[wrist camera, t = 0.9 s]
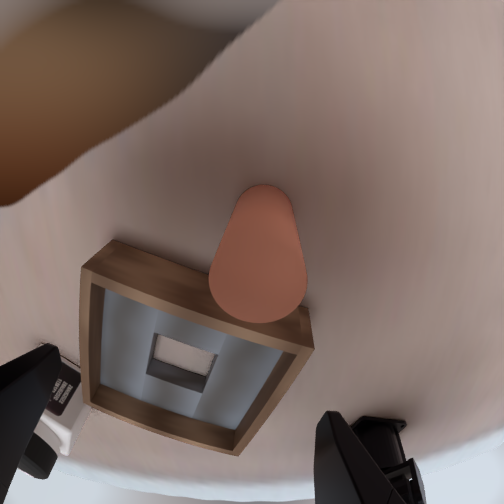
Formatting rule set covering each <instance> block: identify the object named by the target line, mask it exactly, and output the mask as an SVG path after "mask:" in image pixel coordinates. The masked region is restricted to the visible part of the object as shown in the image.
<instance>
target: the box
mask: <svg viewBox="0 0 504 504" xmlns="http://www.w3.org/2000/svg"><path fill="white" fill-rule="evenodd" d="M158 334H160V335H163V336H165V337H168V338H171V339H173V340H176V341H179V342H182V343H185V344H188V345H190V346H193V347H196V348H199V349H202V350H205V351H208V352H211V353H214V354H215V357H214V359H213V362H212V364H211V367H210V369H209V372H208V374H207V377H204V376H201V375H198V374H195V373H192V372H189V371H186V370H183V369H180V368H178V367H175V366H172V365H169V364H166V363H164V362H161V361H158V360H156V359H153V354H154V349H155V344H156V340H157V335H158ZM79 349H80V371H81V385H82V397H83V403H84V404H86V405H89V406H91V407H93V408H95V409H97V410H99V411H101V412H104V413H106V414H108V415H111V416H113V417H115V418H118V419H120V420H122V421H125V422H127V423H130V424H132V425H135V426H138V427H140V428H143V429H146V430H148V431H151V432H154V433H157V434H160V435H163V436H166V437H169V438H172V439H175V440H178V441H181V442H184V443H188V444H191V445H195V446H198V447H202V448H205V449H209V450H213V451H217V452H221V453H225V454H229V455H234V456H239V455H240V454H241V452H242V451H243V450H244V449H245V447H246V446H247V445H248V443H249V442H250V441H251V440H252V438H253V437H254V436H255V434H256V433H257V432H258V430H259V429H260V428H261V426H262V425H263V424H264V422H265V421H266V420H267V418H268V417H269V415H270V414H271V413H272V411H273V410H274V409H275V407H276V406H277V404H278V403H279V402H280V400H281V399H282V397H283V396H284V394H285V393H286V392H287V390H288V389H289V387H290V386H291V384H292V383H293V381H294V380H295V378H296V377H297V375H298V374H299V372H300V371H301V369H302V368H303V366H304V365H305V363H306V362H307V360H308V359H309V357H310V356H311V354H312V352H313V351H314V349H315V348H314V342H313V335H312V329H311V323H310V317H309V311H308V308H305V307H302V306H299V305H298V307H297V308H296V309H295V310H294V311H293V312H291V313H290V314H289V315H287V316H285V317H283V318H281V319H279V320H276V321H273V322H268V323H251V322H246V321H242V320H239V319H237V318H235V317H233V316H231V315H229V314H228V313H226V312H225V311H224V310H223V309H222V308H221V307H220V306H219V305H218V304H217V302H216V301H215V299H214V298H213V296H212V293H211V291H210V287H209V275H207V274H204V273H202V272H199V271H196V270H193V269H190V268H188V267H185V266H182V265H179V264H176V263H174V262H171V261H168V260H166V259H163V258H160V257H157V256H155V255H152V254H149V253H147V252H144V251H141V250H139V249H136V248H133V247H131V246H128V245H125V244H123V243H120V242H118V241H115V240H111V241H110V242H109V243H108V244H107V245H106V246H104V247H103V248H102V249H101V250H100V251H99V252H97V253H96V254H95V255H94V256H93V257H92V258H91V259H89V260H88V261H87V262H86V263H85V264H84V265H83V266H82V267H81V278H80V300H79Z"/></svg>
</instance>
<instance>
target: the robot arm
mask: <svg viewBox="0 0 504 504" xmlns="http://www.w3.org/2000/svg"><path fill="white" fill-rule="evenodd" d="M61 369H62V360H61V357H60V353H59V349H58V347H57V346H55V345H52V344H50V343H46V344H44V345H42V346H40V347H38V348H36V349H34V350H32V351H30V352H28V353H26V354H24V355H22V356H20V357H18V358H16V359H14V360H12V361H10V362H8V363H6V364H4V365H2V366H0V504H3V502H4V500H5V497H6V495H7V492H8V489H9V486H10V484H11V481H12V479H13V477H14V474H15V472H16V469H17V467H18V465H19V463H20V460H21V458H22V456H23V453H24V451H25V449H26V447H27V445H28V443H29V440H30V438H31V436H32V434H33V432H34V430H35V428H36V426H37V424H38V422H39V420H40V418H41V416H42V414H43V412H44V410H45V408H46V406H47V404H48V402H49V399H50V397H51V394H52V392H53V389H54V386H55V384H56V381H57V379H58V377H59V374H60V372H61ZM406 425H407V424H406V422H405V421H398V420H388V419H379V418H371V417H362V418H360V419H359V420H358V421H357V422H356V423H355V424H354V425H353V426H352V427H351V428H350V427H349V425H348V424H347V422H346V421H345V420H344V418H343V417H342V415H341V414H340V413H339V412H337V411H326V412H325V413H324V415H323V416H322V418H321V420H320V421H319V423H318V424H317V427H316V439H315V455H314V487H315V504H426V497H425V490H424V485H423V481H422V478H421V474H420V471H419V468H418V467H417V465H416V463H415V461H414V459H413V458H411V459H408V461H406V458H405V454H404V450H403V447H402V443H401V440H400V436H399V432H400V431H401V430H403V429H404V428H405V427H406ZM411 478H412V480H410V481H409V479H411Z"/></svg>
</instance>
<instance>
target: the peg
mask: <svg viewBox="0 0 504 504" xmlns="http://www.w3.org/2000/svg"><path fill="white" fill-rule="evenodd" d="M209 287H210V291H211V293H212V296H213V298H214V299H215V301H216V302H217V304H218V305H219V306H220V307H221V308H222V309H223V310H224V311H225V312H226V313H228V314H229V315H231V316H233V317H235V318H237V319H239V320H242V321H246V322H251V323H268V322H273V321H276V320H279V319H281V318H283V317H285V316H287V315H289V314H290V313H291V312H293V311H294V310H295V309H296V308H297V307H298V305H299V304H300V303H301V301H302V299H303V298H304V295H305V293H306V289H307V273H306V268H305V263H304V258H303V254H302V249H301V245H300V240H299V235H298V231H297V227H296V222H295V218H294V214H293V209H292V205H291V202H290V200H289V198H288V197H287V195H286V194H285V193H284V192H282V191H281V190H280V189H278V188H276V187H274V186H271V185H257V186H254V187H251V188H249V189H248V190H246V191H245V192H244V193H243V194H242V195H241V196H240V198H239V199H238V201H237V204H236V206H235V208H234V211H233V213H232V216H231V218H230V220H229V223H228V225H227V228H226V230H225V232H224V235H223V237H222V240H221V242H220V245H219V247H218V250H217V252H216V255H215V257H214V260H213V262H212V265H211V267H210V271H209Z"/></svg>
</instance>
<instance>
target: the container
mask: <svg viewBox="0 0 504 504" xmlns="http://www.w3.org/2000/svg"><path fill="white" fill-rule="evenodd" d="M42 345H44V344H40V345H39V346H38V347H40V346H42ZM38 347H37V348H38ZM60 357H61V360H62V369H61V372H60V374H59V377H58V379H57V381H56V384H55V386H54V389H53V392H52V394H51V397H50V399H49V402H48V404H47V406H46V408H45V410H44V412H43V414H42V416H41V418H40V420H39V422H38V424H37V426H36V428H35V430H34V432H33V434H32V436H31V438H30V440H29V443H28V445H27V447H26V449H25V451H24V453H23V456H22V458H21V460H20V463H19V465H18V467H17V468H18V469H19V470H21V471H23V472H24V473H26V474H28V475H29V476H31V477H34V478H38V479H47V478H48V477H49V475H50V472H51V470H52V468H53V466H54V464H55V462H56V460H57V458H58V456H59V454H60V453H62V454H64V455H65V456H68V455H69V454H70V452H71V450H72V448H73V446H74V443H75V441H76V439H77V437H78V435H79V433H80V431H81V429H82V427H83V425H84V423H85V421H86V419H87V418H88V416H89V414H90V412H91V408H92V407H91V406H89V405H86V404H84V403H83V397H82V385H81V371H80V368H79V367H77V366H76V365H74V364H72V363H71V362H69V361H68V360H66V359H65V358H63V357H62V356H60Z"/></svg>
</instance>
